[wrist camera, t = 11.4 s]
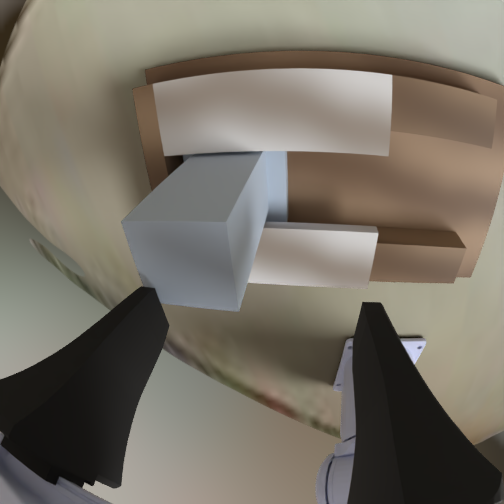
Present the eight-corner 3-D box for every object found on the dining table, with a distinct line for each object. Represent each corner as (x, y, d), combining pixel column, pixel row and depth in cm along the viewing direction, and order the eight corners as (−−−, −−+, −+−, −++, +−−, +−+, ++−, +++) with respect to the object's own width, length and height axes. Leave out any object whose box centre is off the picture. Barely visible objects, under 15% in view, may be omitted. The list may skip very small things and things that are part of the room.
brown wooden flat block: (466, 269, 19) (482, 301, 16) (187, 256, 23) (170, 287, 20) (506, 88, 10) (539, 98, 8) (153, 68, 15) (120, 73, 12)
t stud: (288, 215, 18) (268, 332, 11) (200, 213, 19) (136, 315, 12) (285, 123, 15) (259, 189, 8) (187, 129, 16) (90, 195, 9)
